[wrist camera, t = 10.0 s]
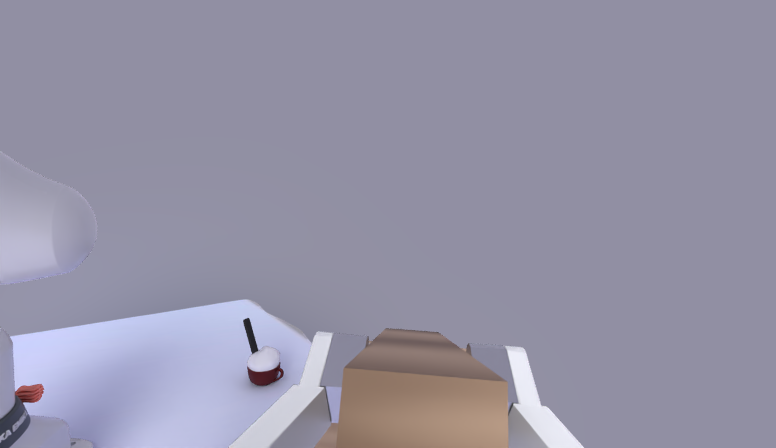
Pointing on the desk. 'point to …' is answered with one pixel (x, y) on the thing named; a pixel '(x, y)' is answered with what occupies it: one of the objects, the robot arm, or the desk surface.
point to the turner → (420, 396)
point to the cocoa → (262, 361)
